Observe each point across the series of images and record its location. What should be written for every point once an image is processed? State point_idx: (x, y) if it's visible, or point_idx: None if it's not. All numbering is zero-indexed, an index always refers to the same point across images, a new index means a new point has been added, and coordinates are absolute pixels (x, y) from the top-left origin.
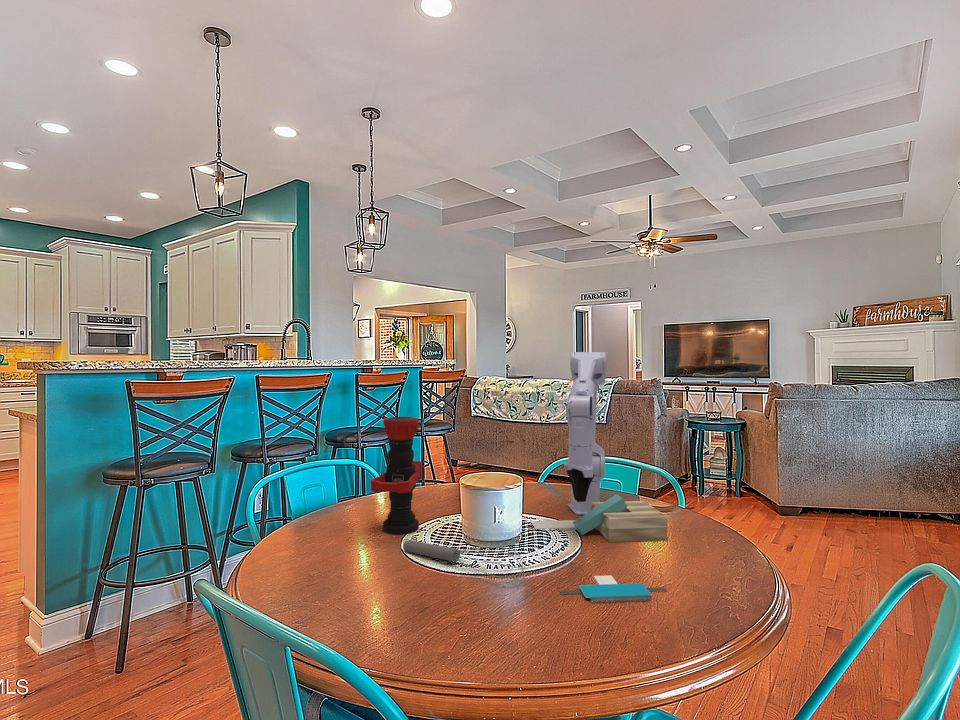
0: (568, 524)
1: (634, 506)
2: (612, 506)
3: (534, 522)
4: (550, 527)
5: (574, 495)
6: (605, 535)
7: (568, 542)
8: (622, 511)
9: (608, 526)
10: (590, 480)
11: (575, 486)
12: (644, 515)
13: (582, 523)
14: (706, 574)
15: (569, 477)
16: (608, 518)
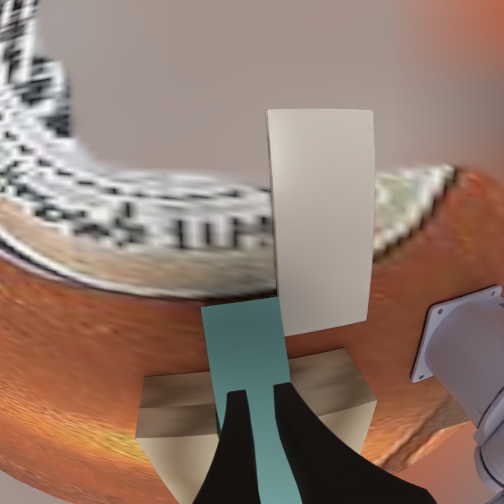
0: (320, 271)
1: None
2: None
3: (358, 122)
4: (283, 185)
5: (278, 402)
6: (182, 380)
7: (117, 244)
8: None
9: (148, 413)
10: None
11: (206, 478)
12: None
13: (208, 337)
14: (25, 454)
15: (376, 478)
16: (146, 436)
